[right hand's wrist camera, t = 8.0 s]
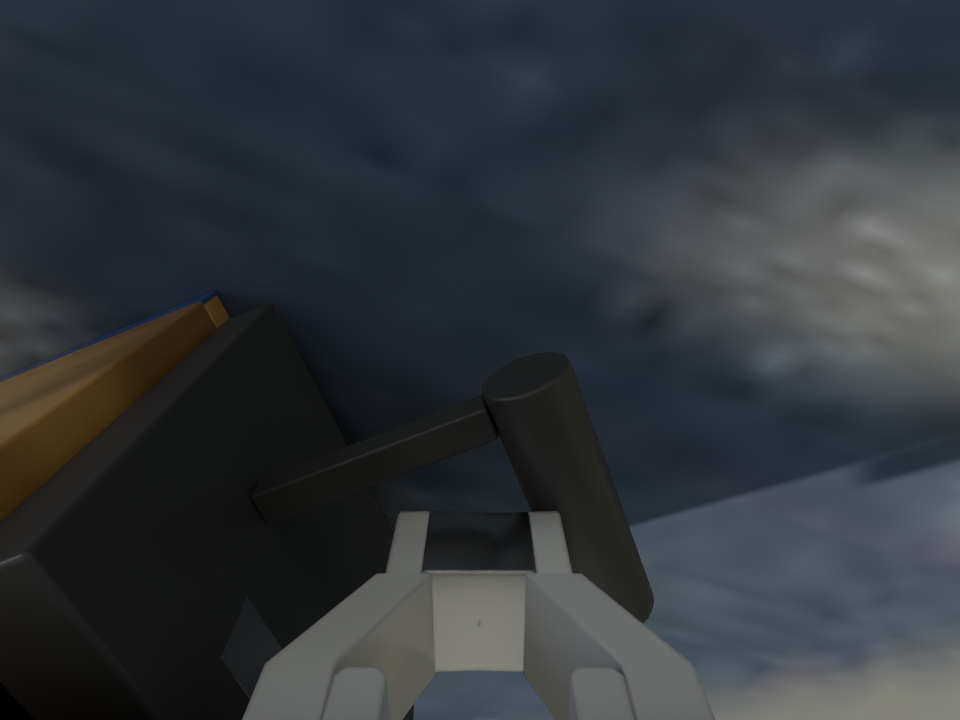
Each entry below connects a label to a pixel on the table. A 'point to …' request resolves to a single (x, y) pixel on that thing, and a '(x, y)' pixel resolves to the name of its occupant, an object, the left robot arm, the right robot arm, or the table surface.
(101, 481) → the drawer
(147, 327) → the cabinet
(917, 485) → the table surface
